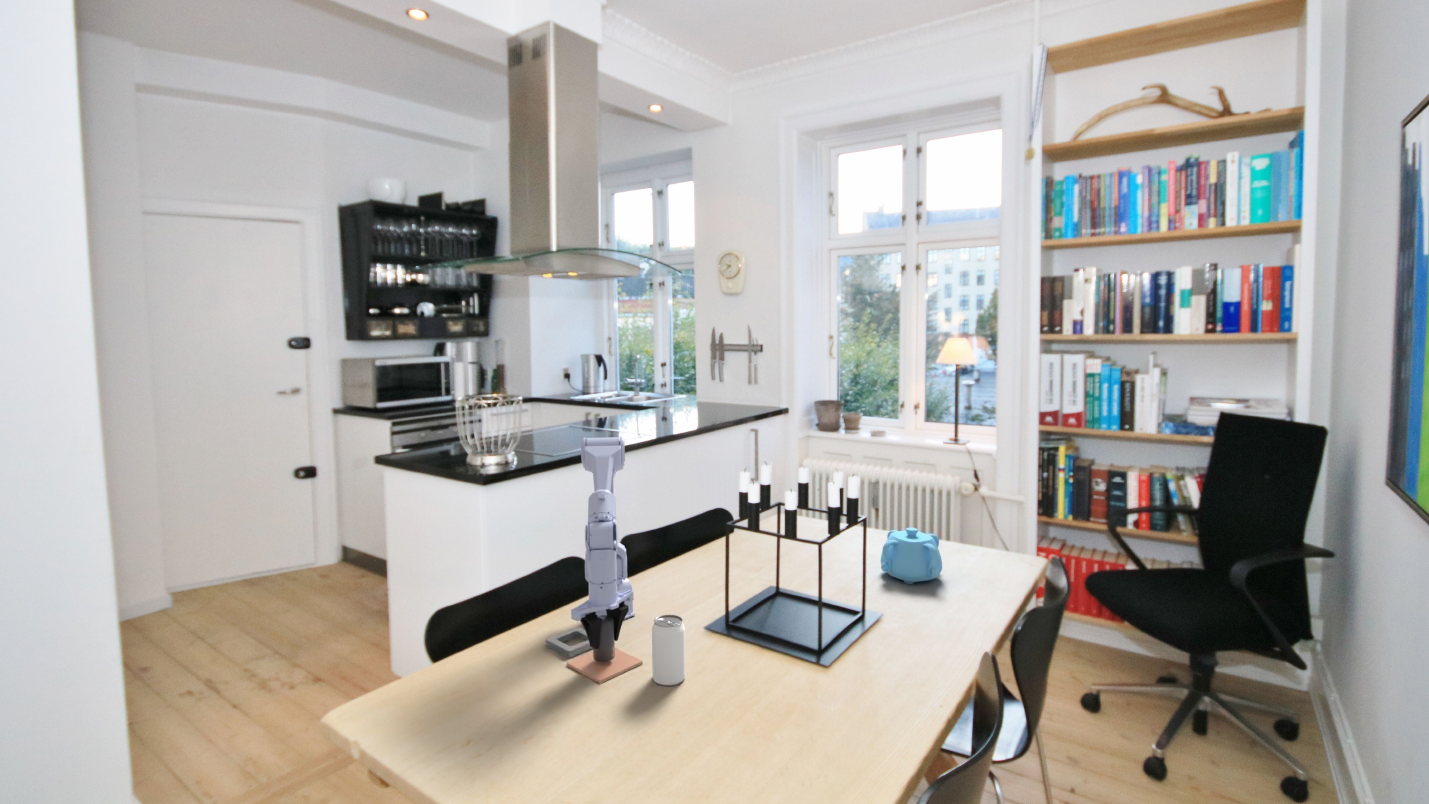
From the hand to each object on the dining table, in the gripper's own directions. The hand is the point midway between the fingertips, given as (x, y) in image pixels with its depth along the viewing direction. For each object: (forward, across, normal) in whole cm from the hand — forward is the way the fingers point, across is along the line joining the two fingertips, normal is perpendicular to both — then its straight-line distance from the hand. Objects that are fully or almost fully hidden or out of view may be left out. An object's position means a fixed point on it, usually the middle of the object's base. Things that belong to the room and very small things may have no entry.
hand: (604, 643), depth 146 cm
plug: (+3, 0, 0) cm, 3 cm away
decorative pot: (+5, +89, -22) cm, 92 cm away
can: (+5, +5, -14) cm, 16 cm away
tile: (+5, 0, 0) cm, 5 cm away
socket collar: (+5, +1, +12) cm, 13 cm away
